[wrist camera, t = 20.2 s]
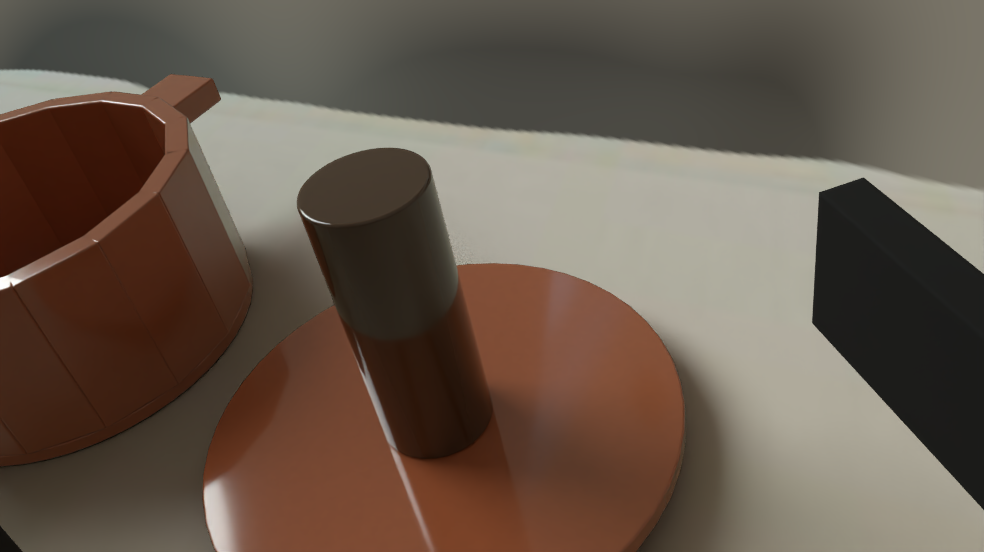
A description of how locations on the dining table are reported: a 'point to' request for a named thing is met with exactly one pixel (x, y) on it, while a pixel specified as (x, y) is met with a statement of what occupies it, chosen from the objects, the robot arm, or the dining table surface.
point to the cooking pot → (109, 265)
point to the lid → (443, 397)
